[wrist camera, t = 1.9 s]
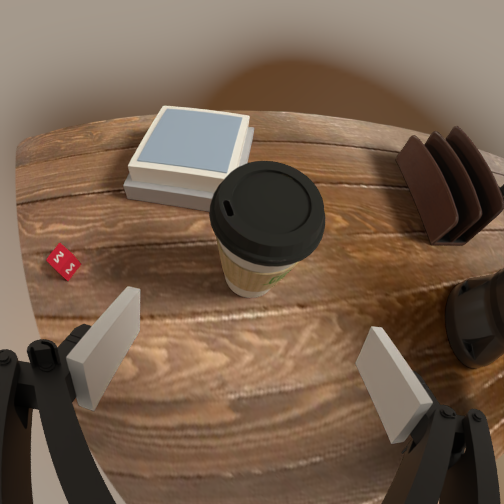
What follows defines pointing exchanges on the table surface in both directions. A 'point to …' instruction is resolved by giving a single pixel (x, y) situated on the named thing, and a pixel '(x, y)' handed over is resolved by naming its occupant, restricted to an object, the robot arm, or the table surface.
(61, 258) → the red letter cube
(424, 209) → the letter holder
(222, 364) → the table surface
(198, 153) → the plinth
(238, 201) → the coffee cup
